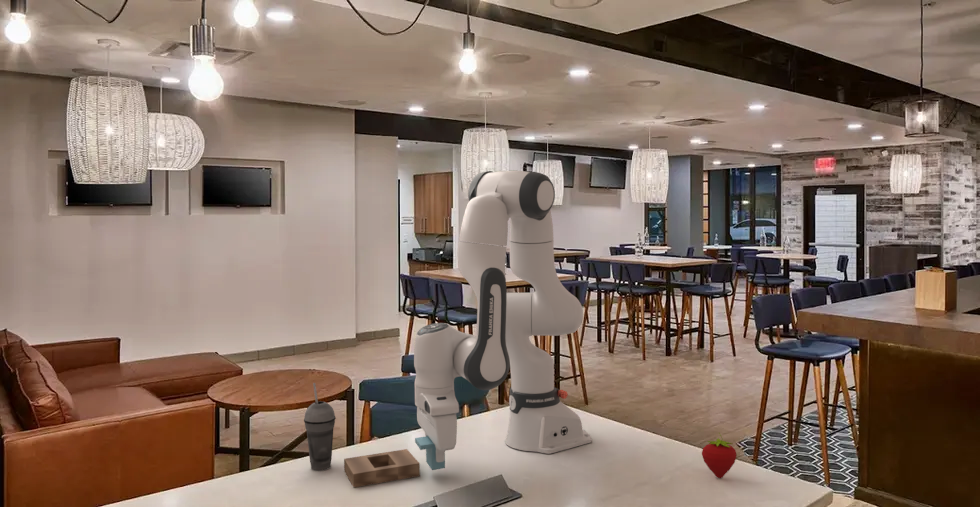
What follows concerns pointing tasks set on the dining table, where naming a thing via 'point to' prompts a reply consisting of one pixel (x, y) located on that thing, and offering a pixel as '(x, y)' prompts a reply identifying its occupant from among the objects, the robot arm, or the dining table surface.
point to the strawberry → (719, 457)
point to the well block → (381, 467)
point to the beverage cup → (320, 433)
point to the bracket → (429, 452)
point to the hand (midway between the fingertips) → (435, 455)
